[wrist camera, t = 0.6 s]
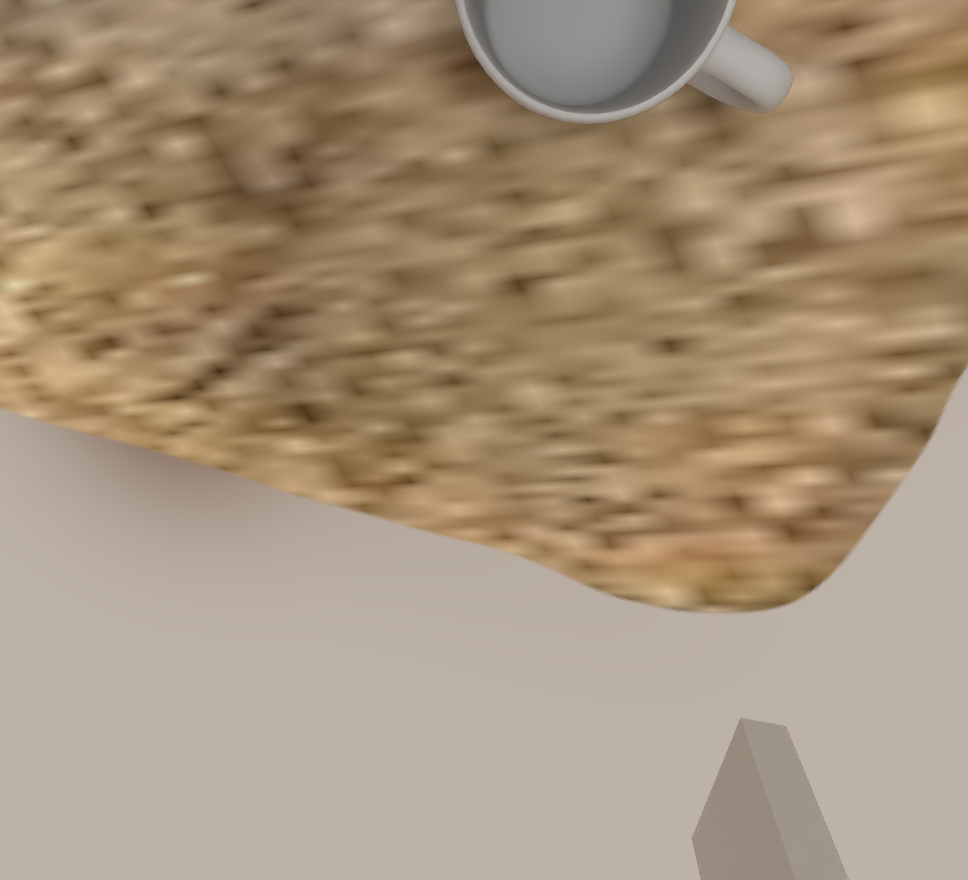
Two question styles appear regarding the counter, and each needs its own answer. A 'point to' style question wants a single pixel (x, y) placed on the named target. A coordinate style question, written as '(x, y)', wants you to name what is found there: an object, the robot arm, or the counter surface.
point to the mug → (619, 55)
